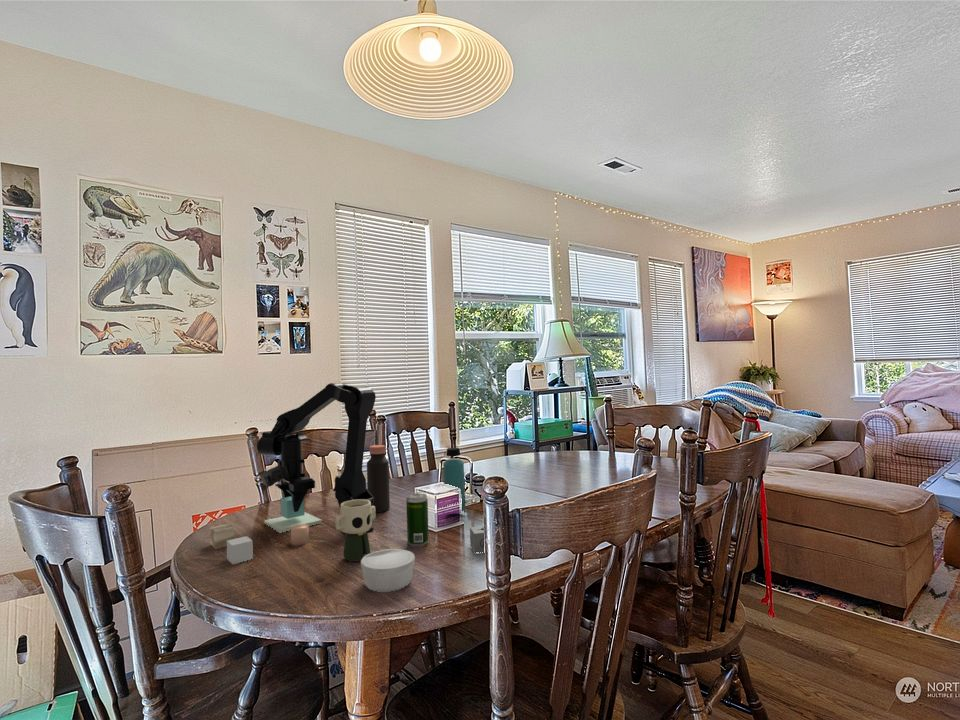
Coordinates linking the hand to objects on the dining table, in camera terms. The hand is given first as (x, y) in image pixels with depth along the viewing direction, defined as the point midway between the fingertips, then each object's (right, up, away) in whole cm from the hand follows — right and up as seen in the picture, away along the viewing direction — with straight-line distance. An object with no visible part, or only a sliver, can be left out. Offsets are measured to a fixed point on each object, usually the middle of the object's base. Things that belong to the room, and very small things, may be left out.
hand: (292, 509), depth 147 cm
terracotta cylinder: (+8, -4, -16) cm, 18 cm away
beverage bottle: (+47, -3, +5) cm, 47 cm away
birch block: (-12, -4, -16) cm, 21 cm away
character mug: (+26, -3, -28) cm, 38 cm away
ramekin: (+36, -3, -42) cm, 55 cm away
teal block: (0, -2, 0) cm, 2 cm away
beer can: (+39, -3, -19) cm, 43 cm away
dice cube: (+55, -3, -24) cm, 60 cm away
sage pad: (0, -4, 0) cm, 4 cm away
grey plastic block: (-3, -4, -27) cm, 27 cm away
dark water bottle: (+23, -4, +12) cm, 26 cm away
